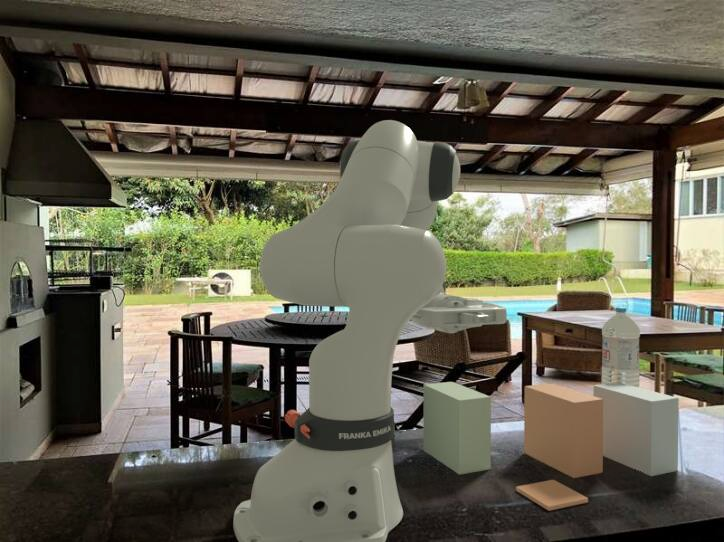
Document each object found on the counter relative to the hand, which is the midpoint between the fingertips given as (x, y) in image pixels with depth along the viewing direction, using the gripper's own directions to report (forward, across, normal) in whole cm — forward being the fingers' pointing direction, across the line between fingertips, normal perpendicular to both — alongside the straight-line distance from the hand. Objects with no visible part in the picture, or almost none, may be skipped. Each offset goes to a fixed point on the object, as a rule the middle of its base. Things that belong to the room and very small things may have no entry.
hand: (483, 319), depth 113 cm
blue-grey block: (+27, +12, +22) cm, 37 cm away
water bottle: (+15, +22, +22) cm, 35 cm away
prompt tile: (+33, -11, +22) cm, 41 cm away
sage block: (+15, -16, +22) cm, 31 cm away
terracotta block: (+23, 0, +22) cm, 32 cm away
